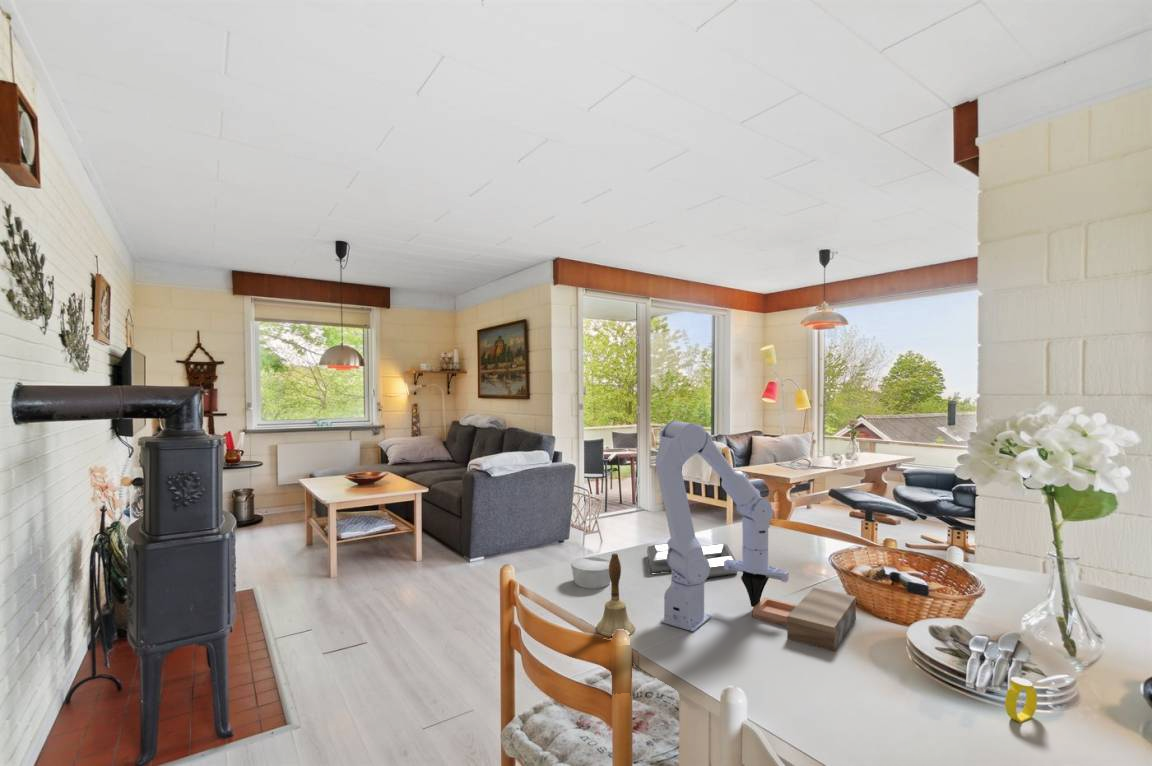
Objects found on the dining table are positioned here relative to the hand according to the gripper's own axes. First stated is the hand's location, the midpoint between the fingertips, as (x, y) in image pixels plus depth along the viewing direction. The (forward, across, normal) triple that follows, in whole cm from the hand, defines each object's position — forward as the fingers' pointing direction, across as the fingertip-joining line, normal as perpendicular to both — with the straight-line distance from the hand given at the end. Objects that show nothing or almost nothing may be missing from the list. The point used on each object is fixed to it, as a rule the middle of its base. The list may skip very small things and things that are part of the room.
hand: (755, 605), depth 128 cm
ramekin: (+1, +40, +9) cm, 41 cm away
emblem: (+2, +26, -20) cm, 33 cm away
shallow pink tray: (+1, -7, 0) cm, 7 cm away
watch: (+1, -48, +15) cm, 50 cm away
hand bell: (+1, +20, +28) cm, 35 cm away
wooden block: (+1, -15, 0) cm, 15 cm away
